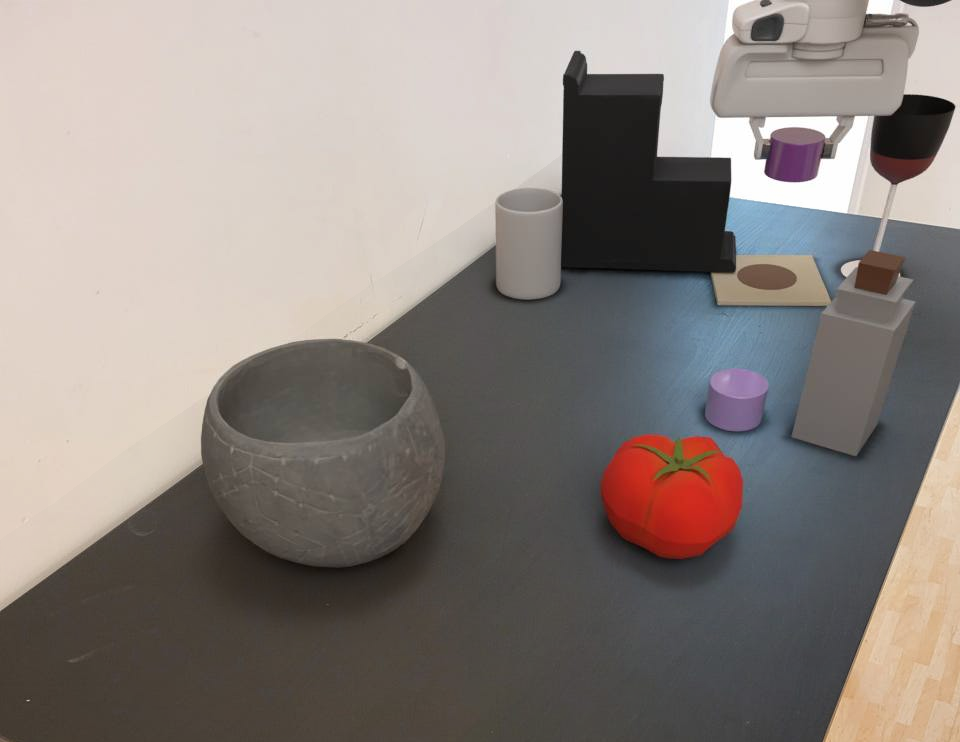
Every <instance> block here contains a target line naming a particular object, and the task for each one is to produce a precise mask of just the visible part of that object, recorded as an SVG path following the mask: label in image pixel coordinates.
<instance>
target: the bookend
mask: <svg viewBox="0 0 960 742" xmlns="http://www.w3.org/2000/svg"><path fill="white" fill-rule="evenodd" d="M664 82H665V75H664V73H588V63H587V57H586V55H585V54H584V53H582V51H581V50H574V51H573V53H572V55H571V57H570V59H569V62H568V65H567V67H566V69H565V71H564V73H563V75H562V86H563V92H562V94H563V95H562V96H563V97H562V98H563V99H562V143H561V144H562V145H561V147H562V149H561V195H560V196H561V198H562V200H563V215H562V245H561V268H575V269H577V268H580V269H612V270H613V269H615V270H638V271H639V270H643V271H666V272H667V271H676V272H704V273H705V272H707V273H710V272H735V271H736V255H737V244H736V243H737V239H736V238H737V237H736V235H735V233H734V231H731V230H726V226H727V219H728V211H729V204H730V196H731V189H732V158H731V157H716V156H715V157H713V156H712V157H709V156H703V157H702V156H701V157H700V156H658V148H659V137H660V135H659V134H660V125H661V124H660V123H661V110H662V105H663V97H664V96H663V95H664Z"/></svg>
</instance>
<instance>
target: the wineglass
mask: <svg viewBox="0 0 960 742" xmlns="http://www.w3.org/2000/svg"><path fill="white" fill-rule="evenodd" d="M956 106H957V105H956V104H955V103H953V102H952V101H950V100H949V99H946V98H941V97H938V96H933V95H925V94H914V93H913V94H911V93H910V94H907V93H906V94H905V93H904V95H903V99H902V103H901V106H900V107H899V108H898V109H897V110H896V111H895V112H894V113H893V114H892V115H889V116H873V120H872V127H871V136H870V147H869V148H870V149H869V161H870V165H871V167H872V168H873V170H874V171H875V172H876V173H877V174H878V175H879V176H881V177H882V178H883V179H885V180H886V181H888V182H889V183H890V187H889V190H888V194H887V197H886V201H885V205H884V209H883V212H882V216H881V220H880V224H879V228H878V230H877V235H876V239H875V242H874V245H873V249H872V250H873V251H878V252H880V250H881V246H882V244H883V243H882V242H883V239H884V235H885V232H886V228H887V224H888V221H889V217H890V213H891V210H892V206H893V204H894V203H893V202H894V198H895V195H896V191H897V188H898V185H899V184H900V183H903V182H905V181H909V180H912V179H914V178H917V177H918V176H920V175H922V174H923V173H924V172H926V171H927V170H928V169H929V167H931V165H932V164H933V162H934V160H935V159H936V157H937V155H938V153H939V151H940V149H941V147H942V145H943V142H944V141H945V138H946V135H947V134H948V131H949V129H950V126H951V123H952V120H953V116H954V114H955V111H956ZM861 260H862V259H858V260H852V261H848V262H846V263H844V264H842V266H841V267H840V272H841V274H842V275H843V276H844V277H846V278H847V277H848V275H849V274H850V273H851V272H852V271H853V270H854V269H855V267H858V264H859V262H860V261H861ZM899 277H901V272H900V273H899Z"/></svg>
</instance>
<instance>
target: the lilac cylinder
mask: <svg viewBox="0 0 960 742" xmlns="http://www.w3.org/2000/svg"><path fill="white" fill-rule="evenodd" d="M769 384H770V383H769V381H768V380H767V379H766V378H765V377H764V376H763V375H762V374H760V373H758V372H756V371H752V370H750V369H745V368H727V369H722V370H719V371H717V372H715V373H714V374H712V376H711V377H710V379H709V383H708V390H707V394H706V395H707V396H706V403H705V408H704V417H705V419H706V421H707V422H708V423H709V424H710V425H711V426H713V427H715V428H717V429H720V430H724V431H728V432H746V431H750V430H754V429H755V428H756V427H758V426H759V425H760V424H761V423H762V420H763V417H764V416H763V415H764V410H765V405H766V401H767V398H768V391H769V387H770V386H769Z"/></svg>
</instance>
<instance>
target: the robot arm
mask: <svg viewBox="0 0 960 742" xmlns="http://www.w3.org/2000/svg"><path fill="white" fill-rule="evenodd" d="M899 1H900V2H902V3H904V4H906V5H909V6H914V7H920V8H928V7H930V8H931V7H935V6H936V7H937V6H940V5H944V4H946V3H950V2H951V1H952V0H899ZM869 2H870V0H751V1H748V2H746V3H743V4H741V5H738V6H737V7H736V8H735V9H734V10H733V13H732V18H731V28H732V31H733V34H731V35H730V36H729V37H728V38H727V39H726V40H725V41H724V44H723V45H722V47H721V49H720V52H719V54H718V59H717V62H716V66H715V69H714V74H713V78H712V83H711V88H710V94H709V95H710V96H709V105H710V107H711V110H712V112H713V113H714V114H715V116H716V117H718V118H720V119H726V118H727V119H728V118H729V119H731V118H734V119H736V118H738V119H739V118H743V119H744V118H749V120H748V123H749V126H750V129H751V132H752V134H753V138H754V139H755V143H754V150H753V158H754V160H756V161H760V160H762V161H763V160H766V159H769V155H770V154H769V151H770V150H771V142H770V138H763V136H762V133H761V130H760V128H765V124H766V119H767V118H807V117H808V118H811V117H812V118H816V117H821V118H822V117H836V119H835V120H836V122H837V123H838V125H837V126H836V127H835V128H834V131H832V133H831V134H830V136H829V137H826V138H825V143H824V148H823V152H822V157H821V160H835V158H836V156H837V151H838V147H839V144H840V143H841V142H842V140H843V139H844V138H845V137H846V136H847V134H848V133H849V132H850V131H851V129H852V128H853V126H854V122H855V117H874V116H889V115H892V114H893V113H894V112H895V111H896V110H897V109H898V108H899V107H900V106H901V103H902V99H903V95H904V94H905V89H906V84H907V77H908V69H909V68H908V67H909V59H911V57H913V54H914V52H915V50H916V46H917V44H918V43H917V42H918V39H919V33H920V30H919V29H920V28H919V24H918V23H917V21H916V20H915V19H914V18H912V17H910V15H909V13H903V12H899V13H894V14H888V13H887V14H885V13H867V11H868V7H869ZM909 24H910V25H909Z"/></svg>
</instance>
